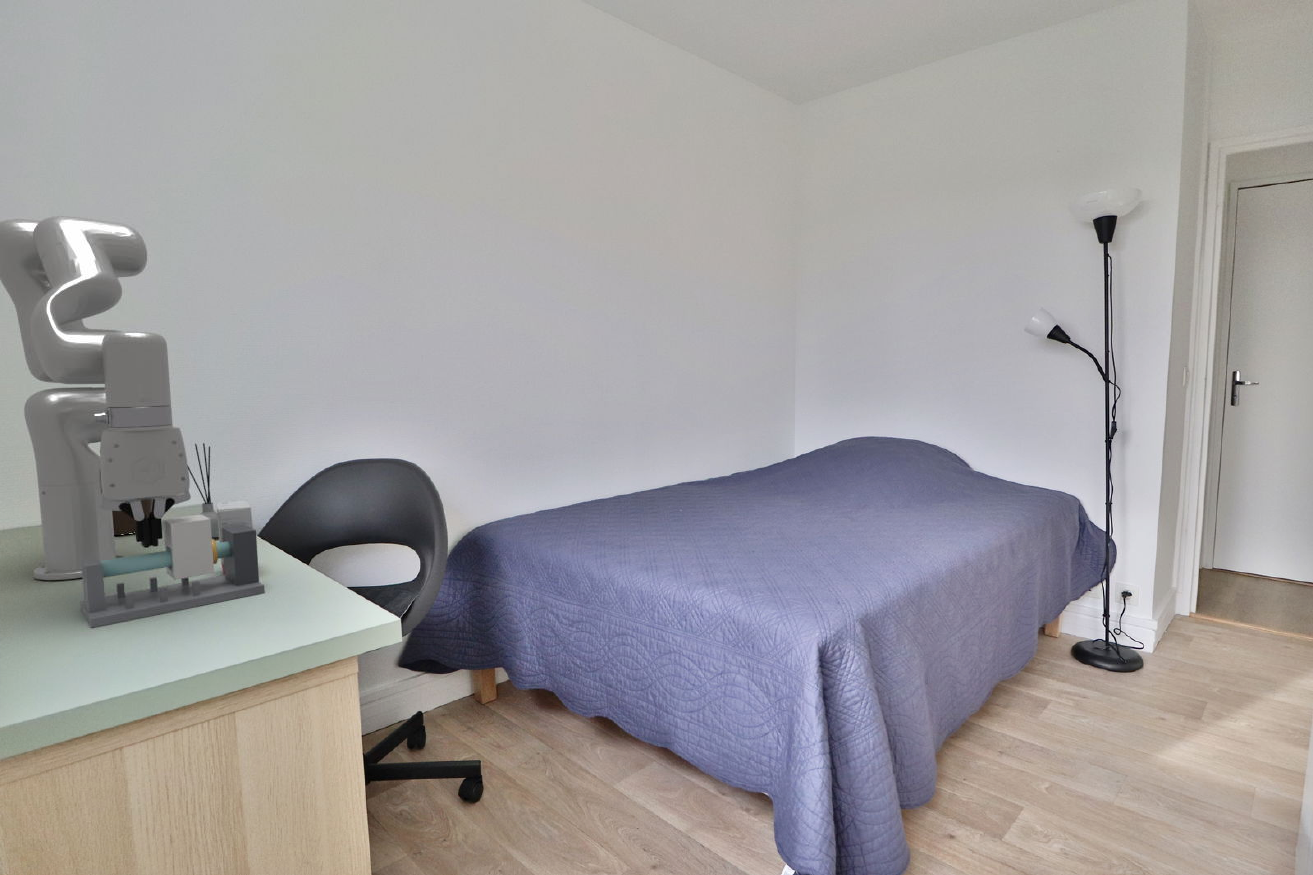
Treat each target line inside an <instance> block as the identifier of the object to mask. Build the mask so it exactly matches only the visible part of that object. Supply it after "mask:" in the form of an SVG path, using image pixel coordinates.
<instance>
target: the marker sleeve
mask: <svg viewBox="0 0 1313 875" xmlns="http://www.w3.org/2000/svg"><path fill="white" fill-rule="evenodd" d="M162 528H163V540H164V551H168V550H171V556H172V566H171V567H165V568H166V574H167V575H168V576H169V577H171V578H172V579H173V580H174V581H175V580H181V579H182V578H188V579H189V578H192V577H198V576H204V575H209V574H215V568H214V566H215V564H213V549H212V539H213V537H212V534H211V519H209V518H207V517H206V516H204V515H200V514H196V515H186V516H180V517H173V518H172V517H170V518H163V519H162Z"/></svg>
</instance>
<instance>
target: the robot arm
mask: <svg viewBox="0 0 1313 875" xmlns="http://www.w3.org/2000/svg"><path fill="white" fill-rule="evenodd" d="M147 262H148V250H147V245H146V244H145V241H144V239H143V237H142V235H141V234H140V232H138V231H137V230H136V229H135V228H134V227H132V226H130V225H127V224H126V223H118V222H115V221H114V222H112V221H106V220H105V221H104V220H98V219H92V218H84V217H79V216H78V217H76V216H65V215H57V216H50V217H46V218H44V219H42V220H36V219H7V220H6V219H5V220H1V221H0V282H1V284H2V285H3V287H4V289H5V291H6V292H7V293H8V295H9V297H10V298H11V299H10V300H11V301H12V303H13V305H14V307H15V310H16V316H17V320H18V321H17V322H18V325H19V326H18V327H19V333H20V337H21V342H22V348H23V353H24V358H25V360H26V365H27V367H28V368H27V369H28V370H29V372H30V374H31V376H33V377H34V378H35V379H36V380H38V381H41V382H44V383H49V384H50V383H53V384H63V385H104V387H103V386H102V387H100V386H99V387H98V386H97V387H92V386H91V387H89V386H87V387H83V386H82V387H79V386H78V387H75V386H74V387H55V388H48V389H43V390H39V391H37V392H34V393H33V394H32V395H30V396H29V397H28V398H27V399H26V401H25V403H24V407H23V409H24V410H23V412H24V413H23V414H24V415H23V416H24V420H25V424H26V427H27V431H28V433H29V438H30V441H31V445H32V448H33V454H34V459H35V468H36V475H37V476H36V478H37V487H38V496H39V500H38V501H39V511H40V520H41V530H42V531H41V533H42V544H43V553H44V554H43V555H44V564H43V565H41V566H38V567H36V568H35V569H34V570H33V577H34V579H37V580H40V581H60V580H61V581H63V580H64V581H65V580H73V579H80V578H81V579H83V577H82V565H81V561H83V560H89V559H96V558H98V560H99V561H102V560H109V559H115V558H122V557H124V556H122V555H116V545H115V544H116V543H115V536H114V529H113V517H112V510H113V511H123V512H124V513H126V514H127V515H129V516H130V517H132V518H133V519H134V520H135V534H134V535H135V540H136V543H140V544H141V547H143V548H145V549H147V548H150V547H151V546H152V547H154V548H155V547H159V540H162V539H163V538H164V535H163V521H162V518H163V517H164V516H165V514H166V513H167V512H168V511H169V510H170V509H171V508H172V507H173V506H175V505H179V504H181V503H185V502H188V501H189V500H191V499H192V498H191V494H190V491H189V490H190V488H191V486H190V484H191V483H190V472H189V470H188V466H189V465H188V458H187V452H186V448H185V442H184V438H183V435H182V430H181V428H180V427H177V426H173V424H174V423H173V412H172V396H171V385H170V384H171V383H170V370H169V369H170V367H169V366H170V365H169V355H168V354H169V353H168V343H167V340H166V339H165V337H164V336H162V335H161V334H159V333H154V332H147V331H144V332H143V331H122V330H115V329H102V328H101V329H97V328H88V327H86V326H85V324H84V322H83V321H84V320H83V319H87V318H90V317H93V316H96V315H100V314H103V313H105V312H107V311H110V310H111V309H112V308H114V307H115V306H117V304H118V303H119V302H120V300H121V298H122V295H123V288H122V285H121V282H120V280H119V278H128V277H129V278H130V277H137V275H140V274H141V273H143V272H144V270H145V268H146V266H147ZM95 443H100V448H99V454H97V453H96V452H95V451H93V449H92V448H90V446H89V444H95ZM145 499H152V504H151V512H150V513H149V517H148V518H146V515H145V514H144V512H143V509H142V505H141V501H140V500H145ZM125 501H127V503H126V502H125Z"/></svg>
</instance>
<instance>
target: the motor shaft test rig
mask: <svg viewBox="0 0 1313 875" xmlns="http://www.w3.org/2000/svg"><path fill="white" fill-rule="evenodd" d="M222 538H223V542H220V543H219V542H216V541H215V538H212V549H213V564H214V565H215V564H217V563H218V561H219V559H221V558H224V568H225V575H224V574H223V575H218V576H213V577H207V578H202V579H201V578H200V579H196V580H190V581H189V577H188V578H182V579H180V583H179V582H178V583H174V584H168V585H167V584H166V585H162V586H158V578H157V577H156V576H155V577H149V580H148V581H149V588H145V589H141V590H135V591H131V592H130V591H129V592H126V591H125V583H124V582H119V583H116V584H115V585H116V586H115V587H116V594H113V595H107V596H106V595H105V594H106V593H105V582H104V581H105V580H104V578H109V577H116V576H122V575H127V574H128V575H129V574H134V573H140V572H145V571H152V570H158V569H164V568H166V567H171V566H172V556H171V550H168V551H165V550H163V551H162V550H161V551H155V552H150V553H149V552H148V553H142V554H135V555H130V556H123V557H122V558H115V559H109V560H102V561H99V560H98V558H96V559H89V560H83V561H81V565H82V588H83V600H80V601H79V606H80V610H81V613H82V614H83V616H84V617H85V619H86V620H87V622H88V624H89V626H90V627H91V628H99V627H103V626H107V625H108V626H109V625H112V624H113V625H114V624H118V623H123V622H128V621H133V620H138V619H142V618H147V617H153V616H157V615H162V614H167V613H172V612H178V611H181V610H187V609H191V608H197V607H201V606H206V605H211V604H217V603H221V602H225V601H231V600H236V599H241V598H246V597H251V596H255V595H260V594H265V584H263V583H261V582H260V575H259V574H260V573H259V558H258V540H257V530H256V529H254V528H253V529H252V528H250V527H248V526H246V525H239V526H232V527H225V528H222Z"/></svg>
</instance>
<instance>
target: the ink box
mask: <svg viewBox="0 0 1313 875" xmlns="http://www.w3.org/2000/svg"><path fill="white" fill-rule="evenodd" d="M215 505H216V513H217V518H218V532H219V536H218V543H220V542H223V538H222V528H225V527H232V526H239V525H246V526H248V527H250V528H252V529H254V526H253V525H254V524H253V517H252V516H253V515H252V506H251V505H250V502H249V501H248V500H238V501H228V502H226V501H225V502H218V503H216V504H215ZM220 561H221V570H222V573H223V575H225V568H224V558H220Z"/></svg>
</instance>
